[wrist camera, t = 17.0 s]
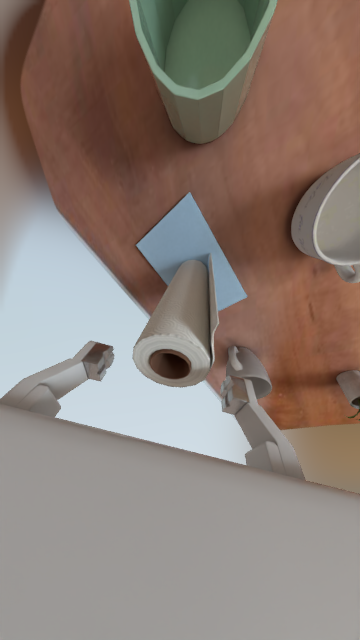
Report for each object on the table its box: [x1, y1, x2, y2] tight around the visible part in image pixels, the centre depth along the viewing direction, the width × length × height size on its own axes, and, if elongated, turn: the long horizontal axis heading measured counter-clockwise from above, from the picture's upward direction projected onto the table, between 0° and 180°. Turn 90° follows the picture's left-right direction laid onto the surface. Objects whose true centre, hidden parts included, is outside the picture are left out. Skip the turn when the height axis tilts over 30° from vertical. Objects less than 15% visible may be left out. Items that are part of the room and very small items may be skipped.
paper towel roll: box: [133, 254, 219, 387], centre depth 20 cm, size 7×6×21 cm
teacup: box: [291, 153, 360, 283], centre depth 19 cm, size 14×11×8 cm
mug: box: [226, 346, 272, 399], centre depth 34 cm, size 12×9×10 cm
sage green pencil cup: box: [129, 0, 278, 144], centre depth 13 cm, size 10×10×9 cm
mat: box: [136, 192, 247, 311], centre depth 28 cm, size 20×12×1 cm, turn 37°
